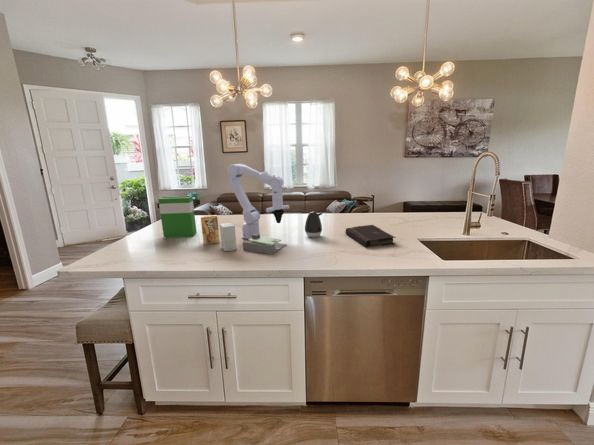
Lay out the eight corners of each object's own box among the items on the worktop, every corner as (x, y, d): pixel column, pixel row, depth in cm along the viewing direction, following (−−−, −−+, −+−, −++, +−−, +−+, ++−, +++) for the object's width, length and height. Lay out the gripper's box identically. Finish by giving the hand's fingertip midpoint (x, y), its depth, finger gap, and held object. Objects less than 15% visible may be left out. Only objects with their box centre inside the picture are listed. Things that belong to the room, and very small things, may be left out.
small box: (236, 249, 153) (235, 225, 150) (224, 251, 151) (222, 227, 147) (233, 245, 160) (231, 222, 157) (221, 247, 158) (219, 223, 154)
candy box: (219, 240, 169) (216, 214, 165) (219, 242, 165) (217, 216, 162) (203, 242, 166) (200, 216, 163) (203, 244, 163) (200, 217, 159)
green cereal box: (163, 237, 177) (158, 198, 171) (168, 234, 184) (163, 196, 178) (193, 236, 178) (188, 197, 172) (196, 233, 185) (192, 195, 179)
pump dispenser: (321, 239, 167) (321, 213, 163) (303, 238, 169) (303, 212, 165) (323, 234, 176) (323, 209, 173) (306, 233, 179) (306, 209, 175)
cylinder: (248, 240, 154) (252, 242, 156) (247, 246, 153) (250, 247, 156) (264, 242, 149) (267, 244, 152) (263, 248, 148) (266, 250, 151)
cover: (248, 240, 153) (248, 236, 152) (258, 236, 160) (257, 232, 159) (272, 245, 145) (271, 240, 144) (281, 240, 152) (281, 236, 151)
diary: (364, 249, 151) (365, 240, 150) (345, 235, 175) (345, 227, 173) (396, 245, 156) (397, 236, 154) (373, 232, 179) (373, 224, 178)
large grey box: (242, 249, 153) (242, 242, 152) (259, 241, 166) (258, 234, 165) (272, 254, 145) (271, 246, 144) (286, 245, 158) (286, 238, 157)
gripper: (270, 201, 155) (271, 226, 159) (292, 198, 164) (292, 221, 167) (263, 200, 161) (264, 223, 164) (284, 196, 169) (285, 219, 173)
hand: (278, 222), depth 166 cm, fingers closed
